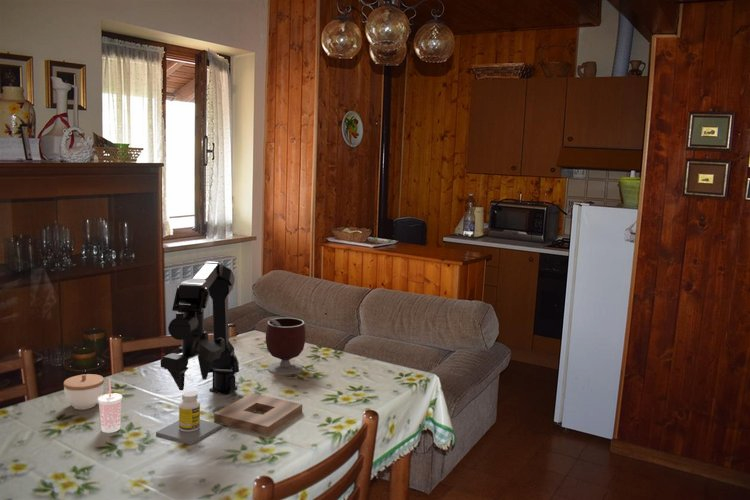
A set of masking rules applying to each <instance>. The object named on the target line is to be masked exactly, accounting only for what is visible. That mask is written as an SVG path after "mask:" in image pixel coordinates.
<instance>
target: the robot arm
mask: <svg viewBox="0 0 750 500" xmlns="http://www.w3.org/2000/svg"><path fill="white" fill-rule="evenodd" d="M235 277H236V276H235V274H234V272H233V271H232V269H230V268H228V267H226V266H225V265H224V264H223V262H220V261H210V260H207V261H205V262H203V265H202V267H201V269H199V271H198V272H197V273H196V274H195V275H194V276H193V278H189V279H185V280H183V281H182V282H180V284H179V285H178V286H177V287H176V292H175V295H174V300H173V305H172V308H171V310H172V311H173V312H175V317H174V318H173V319H172V320H171V321H170V322H169V325H168V327H167V328H168V333H169V335H170V336H171V337H172V338H173V339H175V340H178V341H181V346H180V347H178V348H177V349H178V350H177V351H178V352H179V353H182V354H179V353H173V352H172V353H169V354H166V355H164V356H162V357H161V358H160V368H163V369H164V370H167V372H168V373H169V374H170V375H171V377H172V379H173V380H174V383H175V384H176V387H177V388H178V390H179V391H184V389H185V374H186V372H187V371H188V369H189V367H188V365H189V360H191V359H193V358H196V357H197V359H198V365H199V366H198V367H199V371H200V375H201V378H202V380H205V381H206V380H207V379H208V376H209V373H210V374H211V373H212V387H210V388H209V389H208V390H209V391H210V392H214V393H218V394H223V395H226V394H227V395H228V393H231V392H233V391H235V390H237V389H238V386H237V385H236V376H235V374H236V373H239V371H240V365H239V363H240V362H239V360H238V358H237V355H236V353H235V347H234V346H233V344H232V343H231V342H230V338H229V337H230V334H229V333H230V332H229V331H230V330H229V328H230V327H229V295H231V292H232V290H233V289H234V285H235V281H236V279H235ZM209 298H211V300H212V325H213V327H212V328H213V339H210V338H209V334H208V332H207V331H205V327H204V326H205V322H204V321H205V320H204V319H205V313H204V312H205V309H207V305H208V302H209Z"/></svg>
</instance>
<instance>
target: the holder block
mask: <svg viewBox="0 0 750 500" xmlns="http://www.w3.org/2000/svg"><path fill="white" fill-rule="evenodd" d="M255 412H261V413H263V414H261V413H260V414H259V413H255ZM302 413H303V404H302V403H299V402H295V401H291V400H289V401H288V400H285V399H280V398H277V397H271V396H268V395H264V394H258V393H254V392H250V393H249V394H247V395H245V396H243V397H242V398H240V399H238V400H236V401H234V402H233V403H231V404H229V405H227V406H225V407H223V408H222V409H220V410H218V411H216V412H214V413H213V423H216V424H220V425H224V426H229V427H233V428H237V429H241V430H243V431H249V432H252V433H256V434H259V435H264V436H269V435H271V434H272V433H274V432H275V431H277V430H278V429H280V428H281V427H283V426H284V425H286V424H287V423H289V422H290V421H291V420H293V419H294V418H296V417H297V416H299V415H301V414H302Z"/></svg>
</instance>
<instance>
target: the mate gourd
mask: <svg viewBox="0 0 750 500" xmlns="http://www.w3.org/2000/svg"><path fill="white" fill-rule="evenodd" d="M265 343H266V348H267V351H268V352H269V354H270V355H271V356H272V357H274V358H276V359H279V360H281V361H278V362H273V363H270V364H269V365H267V372H269V373H271V374H274V375H281V376H289V375H290V376H291V375H295V374H299V373H301V372H302V371H303V365H301V364H300V363H298V362H292V361H290V360H291V359H294V358H297V357H299V356H300V355H301V353H302V352H303V351H304V348H305V344H306V326H305V320H303V319H299V318H297V317H296V318H294V317H278V318H277V317H276V318H267V325H266V329H265Z"/></svg>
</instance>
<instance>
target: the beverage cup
mask: <svg viewBox="0 0 750 500" xmlns="http://www.w3.org/2000/svg"><path fill="white" fill-rule="evenodd" d="M111 382H112V380H111V379H110V378H109V379H108V393H105V394H104V393H103V394H102V395H101V396H100V397H98V402H97V403H98V405H99V407H98V408H99V415H100V416H99V418H100V426H101V432H103V433H107V434H109V433H111V434H112V433H115V432H117V431H119V430H120V429H121V419H122V418H121V417H122V400H123V395H122V394H120V393H115V392H114V393H112V386H111V385H112V384H111Z"/></svg>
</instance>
